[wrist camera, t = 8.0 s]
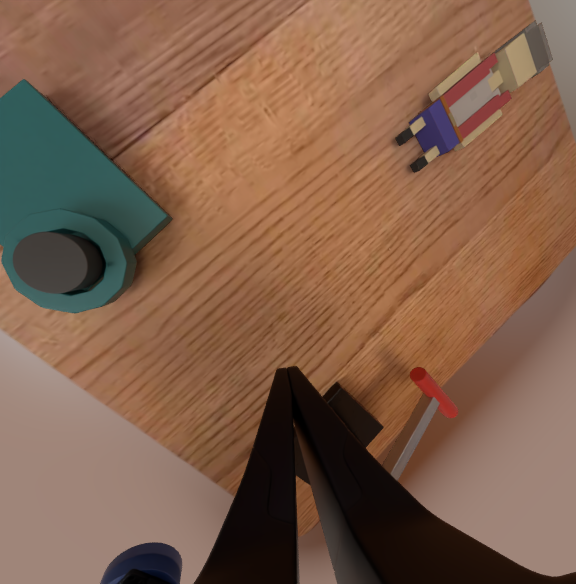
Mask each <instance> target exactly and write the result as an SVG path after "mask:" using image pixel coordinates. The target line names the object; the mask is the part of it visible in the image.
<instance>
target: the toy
mask: <svg viewBox="0 0 576 584" xmlns="http://www.w3.org/2000/svg"><path fill="white" fill-rule="evenodd" d="M552 60H553V58H552V55H551V52H550V48H549V45H548V42H547V38H546V35H545V32H544V29H543V25H542V23H540V24H538V25H537V23H536V20H535V21H534V22H532V23H531V24H530V25H528V26H527V27H526V28H525V29H523V30H522V31H521V32H519V33H518V34H517V35H515V36H514V37H513V38H511V39H510V40H509V41H508V42H506V43H505V44H504V45H502V46H501V47H500V48H498V49H497V50H496V51H495V52H494V53H492V54H491V55H490V56H489V57H488V58H486V59H485V60H484V61H482V62H481V59H480V56H479V54H478V52H477V53H476V54H475V55H473V56H472V57H471V58H470V59H468V60H467V61H466V62H465V63H464V64H463V65H461V66H460V67H459V68H458V69H457V70H456V71H454V72H453V73H452V74H451V75H450V76H449V77H447V78H446V79H445V80H444V81H443V82H441V83H440V84H439V85H438V86H437V87H436V88H434V89H433V90H432V91H431V92H430V93H429V96H430V99H431V101H432V102H433V101H434V102H433V103H431V104H430V105H429V106H427V107H426V108H425V109H423V110H422V111H421V112H420V113H418V115H417V116H416V117H415V118H414V119H413V120H412V121H410V122H409V124H410V126H409V127H408V128H406V129H405V130H404V131H403V132H402V133H401V134H399V135H398V136H397V137H396V138H395V139H396V141H397V143H398V144H399V146H401V145H402V144H404V143H405V142H406V141H408V140H409V139H410V138H411V137H412V136H414V135H416V137H417V139H418V141H419V143H420V145H421V147H422V149H423V151H424V154H423V155H422V156H420V157H419V158H418V159H417V160H416V161H415V162H413V163H412V164H411V165H410V167H411V168H412V170H413V172H414V173H415V172H417V171H420V170H421V169H422V168H423V167H425V166H426V165H427V164H428V163H429V162H431V161H432V160H433V159H434V158H436V157H438V156H440V155H442V154H445V153H447V152H449V151H450V150H451V149H453V148H454V149H455V151H458V150H460V149H462V148H464V147H465V146H467V145H468V144H469V143H470V142H471V141H472V140H474V139H475V138H476V137H477V136H478V135H480V134H481V133H482V132H483V131H484V130H485V129H487V128H488V127H489V126H490V125H491V124H493V123H494V122H495V121H496V120H497V119H498V118H500V117H501V116H502V112H501V110H500V108H501V107H502V106H503V105H504V104H506V103H507V102H508V101H509V100H510V99H512V98H511V96H510V93H511V92H512V91H514V90H516V89H518V88H519V87H520V86H522V85H523V84H524V83H525V82H526V81H527V80H529V79H530V78H532V77H534V76H536V75H537V74H539V73H540V72H542V71H543V70H544V69H545V68H546V67H547V66H549V62H551V61H552ZM480 62H481V63H480ZM479 63H480V64H479ZM476 65H477V66H476ZM475 66H476V67H475ZM474 67H475V68H474Z"/></svg>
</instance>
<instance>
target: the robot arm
mask: <svg viewBox="0 0 576 584" xmlns="http://www.w3.org/2000/svg"><path fill="white" fill-rule="evenodd" d="M293 421H294V422H293ZM294 425H295V429H296V433H297V437H298V440H299V444H300V448H301V451H302V455H303V459H304V463H305V466H306V470H307V474H308V477H309V481H310V485H311V488H312V492H313V496H314V499H315V503H316V507H317V510H318V514H319V518H320V521H321V525H322V529H323V532H324V536H325V539H326V543H327V547H328V551H329V554H330V558H331V561H332V565H333V569H334V571H335V576H336V580H337V584H576V572H574V573H570V574H566V575H563V576H558V577H551V576H546V575H542V574H539V573H536V572H534V571H531V570H529V569H527V568H525V567H523V566H521V565H519V564H517V563H515V562H514V561H512V560H510V559H508V558H507V557H505V556H503V555H501V554H500V553H498V552H496V551H495V550H493V549H491V548H489V547H487V546H486V545H484V544H482V543H481V542H479V541H477V540H475V539H474V538H472V537H470V536H469V535H467V534H465V533H463V532H462V531H460V530H458V529H456V528H455V527H453V526H451V525H450V524H448V523H446V522H444V521H443V520H441V519H440V518H438V517H437V516H435V515H434V514H432V513H431V512H430V511H428V510H427V509H426V508H425V507H424V506H423V505H421V504H420V503H419V502H418V501H417V500H416V499H415V498H414V497H413V496H412V495H411V494H410V493H409V492H408V491H407V490H406V489H405V488H404V487H403V486H402V485H401V484H400V483H399V482H398V481H397V480H396V479H395V478H394V477H393V476H392V475H391V474H390V473H389V472H388V471H387V470H386V469H385V468H384V467H383V466H382V465H381V464H380V463H379V462H378V461H377V460H376V459H375V458H374V457H373V456H372V455H371V454H370V453H369V452H368V451H367V450H366V449H365V447H364V446H363V445H362V444H361V443H360V442H359V441H358V439H357V438H356V437H355V436H354V435H353V433H352V432H351V431H350V430H349V429H348V428H347V426H346V425H345V424H344V423H343V421H342V420H341V419H340V418H339V417H338V415H337V414H336V413H335V412H334V411H333V409H332V408H331V407H330V406H329V405H328V403H327V402H326V401H325V400H324V399H323V397H322V396H321V395H320V394H319V393H318V391H317V390H316V389H315V388H314V386H313V385H312V384H311V383H310V382H309V380H308V379H307V378H306V377H305V376H304V374H303V373H302V372H301V371H300V370H299V368H298V367H297V366H292V367H288V368H279V369H277V370H276V373H275V376H274V380H273V383H272V386H271V389H270V393H269V396H268V399H267V403H266V406H265V409H264V412H263V416H262V419H261V422H260V425H259V429H258V432H257V435H256V438H255V442H254V445H253V448H252V451H251V454H250V458H249V461H248V464H247V467H246V470H245V473H244V475H243V478H242V481H241V483H240V486H239V488H238V491H237V493H236V496H235V498H234V500H233V503H232V505H231V507H230V510H229V512H228V514H227V516H226V519H225V521H224V524H223V526H222V528H221V530H220V533H219V535H218V538H217V540H216V542H215V544H214V547H213V549H212V551H211V553H210V555H209V557H208V559H207V561H206V563H205V565H204V567H203V569H202V571H201V572H200V574H199V576H198V577H197V579H196V581H195V582H194V584H300V583H299V556H298V528H297V501H296V474H295V447H294ZM348 430H349V431H348ZM117 584H172V583H169V582H167V581H165V580H162V579H160V578H157V577H155V576H152V575H150V574H148V573H145V572H143V571H140V570H138V569H131V570H130V571H128V573H127V574H126V575H125V576H124V577H123V578H122V579H121V580H120V581H119V582H118V583H117Z"/></svg>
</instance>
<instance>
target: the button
mask: <svg viewBox="0 0 576 584" xmlns="http://www.w3.org/2000/svg"><path fill="white" fill-rule="evenodd" d="M13 266H14V269H15V271H16V273H17V275H18V276H19V277H20V279H21V280H22V281H23V282H25V283H26V284H27V285H28V286H30V287H32V288H34V289H36V290H38V291H41V292H45V293H51V294H59V293H65V292H70V291H74V290H79V289H83V288H86V287H88V286H90V285H92V284H93V283H94V282H96V280H97V279H98V278H99V276H100V274H101V272H102V267H103V264H102V258H101V256H100V253H99V252H98V250H97V249H96V248H95V246H94V245H92V244H91V243H90V242H89V241H87V240H85V239H84V238H81V237H79V236H75V235H70V234H63V233H55V232H38V233H34V234H31V235H29V236H27V237H25V238H24V239H22V240H21V241H20V242H19V243H18V244H17V246H16V248H15V250H14V253H13Z"/></svg>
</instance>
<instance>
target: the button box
mask: <svg viewBox="0 0 576 584" xmlns="http://www.w3.org/2000/svg"><path fill="white" fill-rule="evenodd" d="M171 220H172V218H171V217H170V216H169V215H168V214H167V213H166V212H165V211H164V210H163V209H162V208H161V207H160V206H159V205H158V204H157V203H156V202H155V201H154V200H153V199H152V198H150V197H149V196H148V195H147V194H146V193H145V192H144V191H143V190H142V189H141V188H140V187H139V186H138V185H137V184H136V183H135V182H134V181H133V180H132V179H131V178H130V177H128V176H127V175H126V174H125V173H124V172H123V171H122V170H121V169H120V168H119V167H118V166H117V165H116V164H115V163H114V162H113V161H112V160H111V159H110V158H109V157H108V156H107V155H105V154H104V153H103V152H102V151H101V150H100V149H99V148H98V147H97V146H96V145H95V144H94V143H93V142H92V141H91V140H90V139H89V138H88V137H87V136H86V135H85V134H83V133H82V132H81V131H80V130H79V129H78V128H77V127H76V126H75V125H74V124H73V123H72V122H71V121H70V120H69V119H68V118H67V117H66V116H65V115H64V114H63V113H62V112H60V111H59V110H58V109H57V108H56V107H55V106H54V105H53V104H52V103H51V102H50V101H49V100H48V99H47V98H46V97H45V96H44V95H43V94H41V93H40V92H39V91H38V90H37V89H36V88H34V87H33V86H32V85H31V84H30V83H29V82H28V81H26V80H25V79H23V80H22V81H20V82H19V83H18V84H17V85H16V86H14V87H13V88H12V89H11V90H10V91H8V92H7V93H6V94H5V95H4V96H2V97H1V98H0V245H2V246H3V247H4V248H3V254H2V260H1V262H2V264H3V266H4V268H5V270H6V272H7V274H8V276H9V278H10V280H11V282H12V284H13V286H14V288H15V289H16V290H17V291H18V292H20V293H21V294H23V295H24V296H26V297H27V298H29V299H30V300H31V301H33V302H34V303H36V304H37V305H39V306H40V307H43V308H47V309H52V310H58V311H63V312H69V313H79V312H82V311H86V310H90V309H94V308H98V307H102V306H104V305H107V304H109V303H112V302H114V301H116V300H117V299H118V298H119V297H120V296H121V295H122V294H123V293H124V292H125V291H126V290H127V289H128V288H129V287H130V286H131V285H132V282H133V278H134V273H135V269H136V264H137V261H136V258H135V256H134V255H135V254H136V253H137V252H138V251H140V250H141V249H142V248H143V247H144V246H145V245H146V244H147V243H148V242H149V241H150V240H151V239H152V238H153V237H154V236H155V235H157V234H158V233H159V232H160V231H161V230H162V229H163V228H164V227H165V226H166V225H167V224H168V223H169V222H170V221H171ZM38 232H55V233H63V234H70V235H75V236H79V237H81V238H84V239H85V240H87V241H89V242H90V243H91V244H92V245H94V246H95V248H96V249H97V250H98V252H99V253H100V256H101V258H102V264H103V267H102V272H101V274H100V276H99V278H98V279H97V280H96V282H94V283H93V284H92V285H90V286H88V287H86V288H83V289H79V290H74V291H70V292H65V293H59V294H51V293H45V292H41V291H38V290H36V289H34V288H32V287H30V286H28V285H27V284H26V283H25V282H23V281H22V280H21V279H20V277H19V276H18V275H17V273H16V271H15V269H14V266H13V253H14V250H15V248H16V246H17V244H18V243H19V242H20V241H21V240H22V239H24V238H25V237H27V236H29V235H31V234H34V233H38Z"/></svg>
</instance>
